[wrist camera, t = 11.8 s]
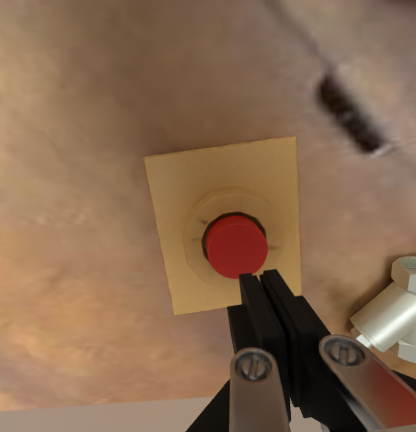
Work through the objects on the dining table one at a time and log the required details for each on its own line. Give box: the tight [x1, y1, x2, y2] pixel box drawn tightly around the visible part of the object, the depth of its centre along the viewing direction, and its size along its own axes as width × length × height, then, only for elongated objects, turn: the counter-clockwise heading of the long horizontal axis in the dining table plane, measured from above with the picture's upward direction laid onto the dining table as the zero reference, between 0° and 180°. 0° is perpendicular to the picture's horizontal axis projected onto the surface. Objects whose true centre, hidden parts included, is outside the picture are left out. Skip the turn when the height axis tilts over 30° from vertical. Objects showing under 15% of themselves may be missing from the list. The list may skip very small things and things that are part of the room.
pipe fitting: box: [350, 256, 416, 363], centre depth 21 cm, size 8×4×7 cm
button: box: [206, 215, 268, 279], centre depth 16 cm, size 4×4×2 cm
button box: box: [143, 136, 302, 315], centre depth 18 cm, size 12×10×4 cm
